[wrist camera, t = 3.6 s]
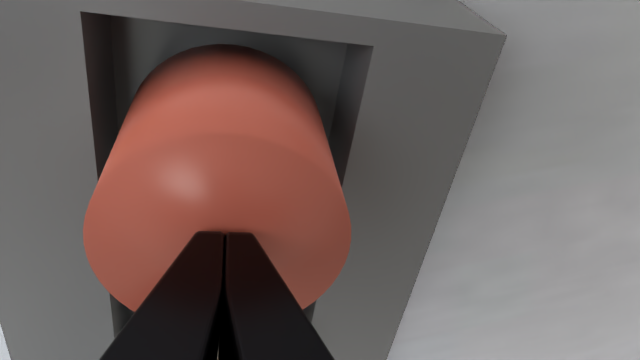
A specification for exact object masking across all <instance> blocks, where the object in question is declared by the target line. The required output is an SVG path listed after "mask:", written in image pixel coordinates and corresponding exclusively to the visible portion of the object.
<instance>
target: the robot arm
mask: <svg viewBox="0 0 640 360" xmlns="http://www.w3.org/2000/svg"><path fill="white" fill-rule="evenodd" d="M99 360H335V359H334V358H333V356H332V355H331V353H330V351H329V350H328V348H327V347H326V345H325V344H324V342H323V341H322V339H321V338H320V336H319V334H318V333H317V331H316V330H315V328H314V327H313V325H312V324H311V322H310V320H309V319H308V317H307V316H306V314H305V313H304V311H303V310H302V308H301V307H300V305H299V303H298V302H297V300H296V299H295V297H294V296H293V294H292V293H291V291H290V289H289V288H288V286H287V285H286V283H285V282H284V280H283V279H282V277H281V276H280V274H279V272H278V271H277V269H276V268H275V266H274V265H273V263H272V262H271V260H270V259H269V257H268V255H267V254H266V252H265V251H264V249H263V248H262V246H261V245H260V243H259V241H258V240H257V238H256V237H255V236H254V234H252V233H250V232H228V233H226V235H224V233H223V232H221V231H197V232H196V233H195V234H194V235H193V236H192V238H191V239H190V240H189V242H188V243H187V244H186V246H185V247H184V248H183V250H182V251H181V252H180V253H179V255H178V256H177V257H176V259H175V260H174V261H173V263H172V264H171V265H170V267H169V268H168V269H167V271H166V272H165V273H164V275H163V276H162V277H161V278H160V280H159V281H158V282H157V284H156V285H155V286H154V288H153V289H152V290H151V292H150V293H149V294H148V296H147V297H146V298H145V300H144V301H143V302H142V303H141V305H140V306H139V307H138V309H137V310H136V311H135V313H134V314H133V315H132V317H131V318H130V319H129V321H128V322H127V323H126V324H125V326H124V327H123V328H122V330H121V331H120V332H119V334H118V335H117V336H116V338H115V339H114V340H113V342H112V343H111V344H110V346H109V347H108V348H107V349H106V351H105V352H104V353H103V355H102V356H101V357H100V359H99Z"/></svg>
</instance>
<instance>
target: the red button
mask: <svg viewBox="0 0 640 360" xmlns="http://www.w3.org/2000/svg"><path fill="white" fill-rule="evenodd" d="M197 231H221V232H223V233H224V235H226V233H228V232H250V233H252V234H254V236H255V237H256V238H257V240H258V241H259V243H260V245H261V246H262V248H263V249H264V251H265V252H266V254H267V255H268V257H269V259H270V260H271V262H272V263H273V265H274V266H275V268H276V269H277V271H278V272H279V274H280V276H281V277H282V279H283V280H284V282H285V283H286V285H287V286H288V288H289V289H290V291H291V293H292V294H293V296H294V297H295V299H296V300H297V302H298V303H299V305H300V307H301V308H302V310H303V309H304V308H306V307H307V306H309V305H310V304H312V303H313V302H314V301H316V300H317V299H318V298H319V297H320V296H321V295H323V294H324V292H325V291H326V290H327V289H328V288H329V287H330V286H331V285H332V284H333V282H334V281H335V279H336V278H337V277H338V275H339V274H340V272H341V270H342V268H343V266H344V264H345V262H346V259H347V256H348V253H349V249H350V243H351V222H350V216H349V212H348V208H347V205H346V201H345V198H344V195H343V191H342V188H341V185H340V181H339V178H338V174H337V171H336V168H335V164H334V161H333V157H332V154H331V151H330V147H329V144H328V140H327V137H326V134H325V130H324V127H323V123H322V120H321V117H320V113H319V110H318V107H317V104H316V101H315V99H314V97H313V95H312V93H311V91H310V90H309V88H308V87H307V86H306V84H305V83H304V81H303V80H302V79H301V78H300V77H299V76H298V75H297V74H296V73H295V72H294V71H293V70H292V69H291V68H290V67H288V66H287V65H286V64H285V63H283V62H281V61H280V60H278V59H277V58H275V57H273V56H271V55H269V54H267V53H264V52H262V51H259V50H256V49H253V48H250V47H246V46H240V45H234V44H211V45H203V46H199V47H194V48H190V49H188V50H185V51H182V52H179V53H177V54H175V55H173V56H172V57H170V58H168V59H166V60H165V61H163V62H162V63H161V64H159V65H158V66H157V67H156V68H155V69H154V70H152V71H151V72H150V73H149V74H148V75H147V77H146V78H145V79H144V81H143V82H142V83H141V85H140V86H139V88H138V90H137V92H136V94H135V96H134V98H133V100H132V103H131V105H130V108H129V110H128V112H127V115H126V117H125V119H124V122H123V124H122V126H121V129H120V131H119V134H118V136H117V138H116V141H115V143H114V145H113V148H112V150H111V152H110V155H109V157H108V160H107V162H106V164H105V167H104V169H103V171H102V174H101V176H100V178H99V181H98V183H97V185H96V188H95V190H94V193H93V195H92V197H91V200H90V202H89V205H88V208H87V211H86V214H85V219H84V225H83V243H84V248H85V252H86V256H87V259H88V261H89V264H90V266H91V268H92V270H93V272H94V273H95V275H96V277H97V278H98V280H99V281H100V283H101V284H102V285H103V286H104V287H105V288H106V290H107V291H108V292H109V293H110V294H111V295H112V296H114V297H115V298H116V299H117V300H118V301H119V302H121V303H122V304H123V305H125V306H126V307H128V308H129V309H131V310H132V311H134V312H135V311H136V310H137V309H138V307H139V306H140V305H141V303H142V302H143V301H144V300H145V298H146V297H147V296H148V294H149V293H150V292H151V290H152V289H153V288H154V286H155V285H156V284H157V282H158V281H159V280H160V278H161V277H162V276H163V275H164V273H165V272H166V271H167V269H168V268H169V267H170V265H171V264H172V263H173V261H174V260H175V259H176V257H177V256H178V255H179V253H180V252H181V251H182V250H183V248H184V247H185V246H186V244H187V243H188V242H189V240H190V239H191V238H192V236H193V235H194V234H195V233H196V232H197Z"/></svg>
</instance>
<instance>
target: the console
mask: <svg viewBox="0 0 640 360" xmlns="http://www.w3.org/2000/svg"><path fill="white" fill-rule="evenodd" d="M506 37H507V35H506V34H504V33H503V32H501V31H500V30H499V29H497V28H496V27H494V26H493V25H492V24H490V23H489V22H487V21H486V20H485V19H483V18H482V17H480V16H479V15H478V14H476V13H475V12H473V11H472V10H471V9H469V8H468V7H466V6H465V5H464V4H462V3H461V2H459V1H458V0H0V324H1V327H2V330H3V334H4V337H5V341H6V344H7V348H8V351H9V354H10V358H11V360H99V359H100V357H101V356H102V355H103V353H104V352H105V351H106V349H107V348H108V347H109V346H110V344H111V343H112V342H113V340H114V339H115V338H116V336H117V335H118V334H119V332H120V331H121V330H122V328H123V327H124V326H125V324H126V323H127V322H128V321H129V319H130V318H131V317H132V315H133V314H134V313H135V312H134V311H132V310H131V309H129V308H128V307H126V306H125V305H123V304H122V303H121V302H119V301H118V300H117V299H116V298H115V297H114V296H112V295H111V294H110V293H109V292H108V291H107V290H106V288H105V287H104V286H103V285H102V284H101V283H100V281H99V280H98V278H97V277H96V275H95V273H94V272H93V270H92V268H91V266H90V264H89V261H88V259H87V256H86V252H85V248H84V243H83V225H84V219H85V214H86V211H87V208H88V205H89V202H90V200H91V197H92V195H93V193H94V190H95V188H96V185H97V183H98V181H99V178H100V176H101V174H102V171H103V169H104V167H105V164H106V162H107V160H108V157H109V155H110V152H111V150H112V148H113V145H114V143H115V141H116V138H117V136H118V134H119V131H120V129H121V126H122V124H123V122H124V119H125V117H126V115H127V112H128V110H129V108H130V105H131V103H132V100H133V98H134V96H135V94H136V92H137V90H138V88H139V86H140V85H141V83H142V82H143V81H144V79H145V78H146V77H147V75H148V74H149V73H150V72H151V71H152V70H154V69H155V68H156V67H157V66H158V65H159V64H161V63H162V62H163V61H165V60H166V59H168V58H170V57H172V56H173V55H175V54H177V53H179V52H182V51H185V50H188V49H190V48H194V47H199V46H203V45H211V44H234V45H240V46H246V47H250V48H253V49H256V50H259V51H262V52H264V53H267V54H269V55H271V56H273V57H275V58H277V59H278V60H280V61H281V62H283V63H285V64H286V65H287V66H288V67H290V68H291V69H292V70H293V71H294V72H295V73H296V74H297V75H298V76H299V77H300V78H301V79H302V80H303V81H304V83H305V84H306V86H307V87H308V88H309V90H310V91H311V93H312V95H313V97H314V99H315V101H316V104H317V107H318V110H319V113H320V117H321V120H322V123H323V127H324V130H325V134H326V137H327V140H328V144H329V147H330V151H331V154H332V157H333V161H334V164H335V168H336V171H337V174H338V178H339V181H340V185H341V188H342V191H343V195H344V198H345V201H346V205H347V208H348V212H349V216H350V222H351V243H350V249H349V253H348V256H347V259H346V262H345V264H344V266H343V268H342V270H341V272H340V274H339V275H338V277H337V278H336V279H335V281H334V282H333V284H332V285H331V286H330V287H329V288H328V289H327V290H326V291H325V292H324V294H323V295H321V296H320V297H319V298H318V299H317V300H316V301H314V302H313V303H312V304H310V305H309V306H307V307H306V308H304V309H303V311H304V313H305V314H306V316H307V317H308V319H309V320H310V322H311V324H312V325H313V327H314V328H315V330H316V331H317V333H318V334H319V336H320V338H321V339H322V341H323V342H324V344H325V345H326V347H327V348H328V350H329V351H330V353H331V355H332V356H333V358H334V359H335V360H386V359H387V356H388V353H389V351H390V348H391V345H392V343H393V340H394V337H395V335H396V332H397V329H398V327H399V324H400V321H401V319H402V316H403V313H404V311H405V308H406V305H407V302H408V300H409V297H410V294H411V292H412V289H413V286H414V284H415V281H416V278H417V276H418V273H419V270H420V268H421V265H422V262H423V259H424V257H425V254H426V251H427V249H428V246H429V243H430V241H431V238H432V235H433V233H434V230H435V227H436V225H437V222H438V219H439V217H440V214H441V211H442V208H443V206H444V203H445V200H446V198H447V195H448V192H449V190H450V187H451V184H452V182H453V179H454V176H455V174H456V171H457V168H458V165H459V163H460V160H461V157H462V155H463V152H464V149H465V147H466V144H467V141H468V139H469V136H470V133H471V131H472V128H473V125H474V123H475V120H476V117H477V114H478V112H479V109H480V106H481V104H482V101H483V98H484V96H485V93H486V90H487V88H488V85H489V82H490V80H491V77H492V74H493V71H494V69H495V66H496V63H497V61H498V58H499V55H500V53H501V50H502V47H503V45H504V42H505V39H506Z"/></svg>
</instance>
